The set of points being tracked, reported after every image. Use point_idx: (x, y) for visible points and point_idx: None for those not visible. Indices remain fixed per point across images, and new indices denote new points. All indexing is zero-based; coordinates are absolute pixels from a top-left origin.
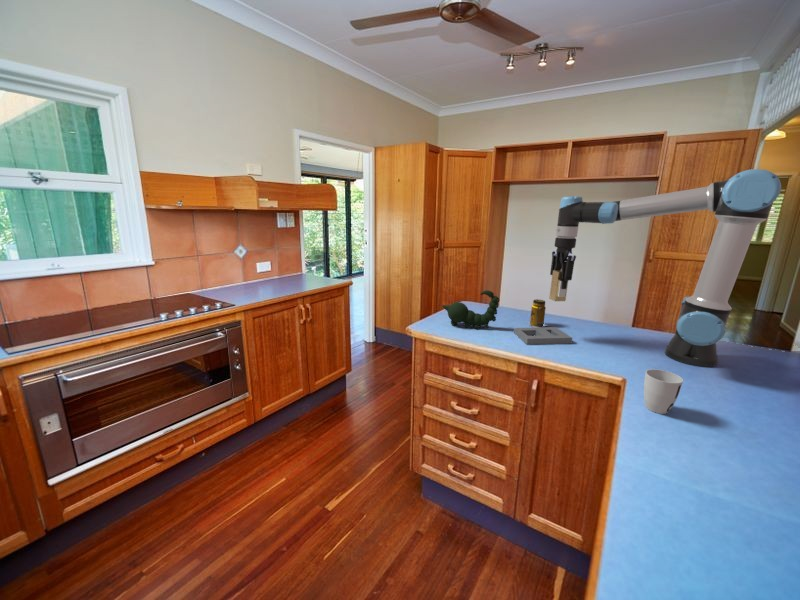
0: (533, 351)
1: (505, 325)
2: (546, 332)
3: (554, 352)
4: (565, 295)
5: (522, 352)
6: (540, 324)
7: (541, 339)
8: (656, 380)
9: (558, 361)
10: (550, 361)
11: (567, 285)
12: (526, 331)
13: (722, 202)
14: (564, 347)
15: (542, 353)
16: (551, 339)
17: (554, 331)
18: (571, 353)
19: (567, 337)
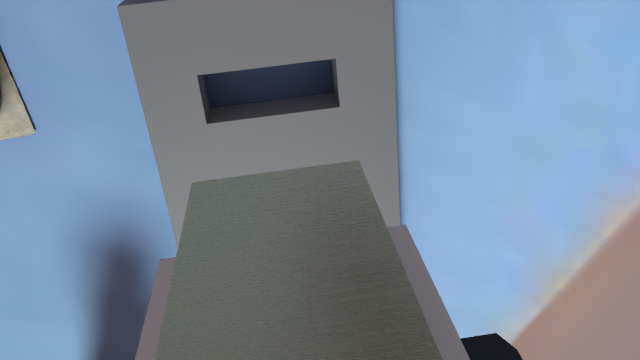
0: (493, 259)
1: (33, 313)
2: (274, 137)
3: (521, 154)
4: (379, 214)
5: (499, 311)
6: None
7: (398, 206)
8: None
9: (636, 177)
10: (626, 216)
11: (425, 324)
12: None
13: None
14: (450, 58)
15: (525, 223)
16: (395, 140)
17: (243, 65)
18: (550, 55)
19: (385, 15)
